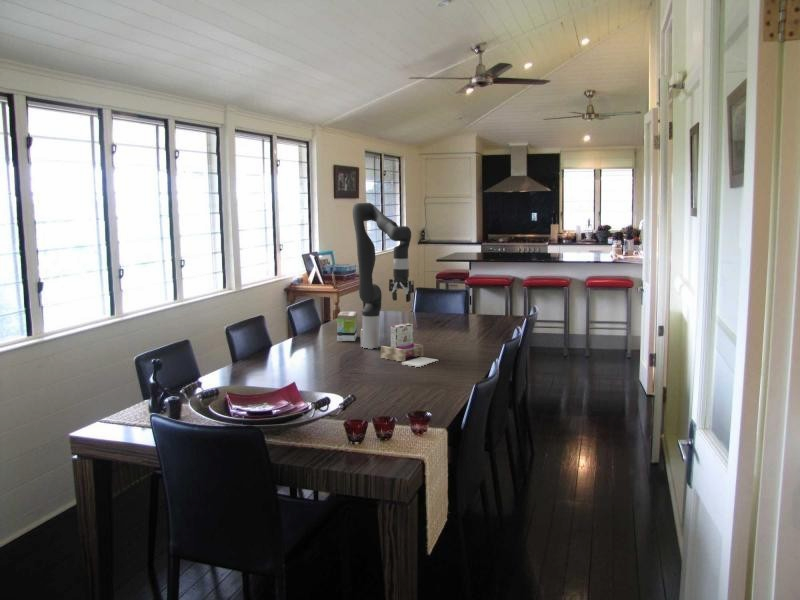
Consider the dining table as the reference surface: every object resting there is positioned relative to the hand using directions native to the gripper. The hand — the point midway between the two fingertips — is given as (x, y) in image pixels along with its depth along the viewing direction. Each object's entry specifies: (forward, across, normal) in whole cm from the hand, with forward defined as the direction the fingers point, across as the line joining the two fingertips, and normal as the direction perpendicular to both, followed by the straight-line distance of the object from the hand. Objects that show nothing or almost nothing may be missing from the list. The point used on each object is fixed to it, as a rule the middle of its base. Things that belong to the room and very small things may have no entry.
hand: (401, 301), depth 332 cm
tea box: (+27, -53, +14) cm, 61 cm away
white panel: (+28, +14, -4) cm, 32 cm away
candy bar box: (+28, 0, 0) cm, 28 cm away
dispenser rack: (+28, 0, 0) cm, 28 cm away
